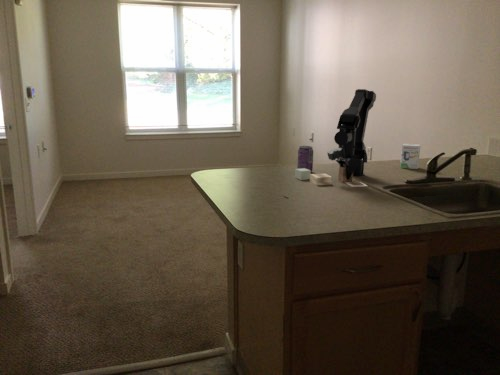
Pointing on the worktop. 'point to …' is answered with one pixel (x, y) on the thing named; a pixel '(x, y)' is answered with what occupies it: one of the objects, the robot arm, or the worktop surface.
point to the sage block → (302, 174)
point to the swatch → (356, 184)
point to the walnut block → (344, 175)
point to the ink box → (410, 156)
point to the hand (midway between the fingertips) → (345, 178)
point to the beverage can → (305, 157)
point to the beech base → (321, 179)
